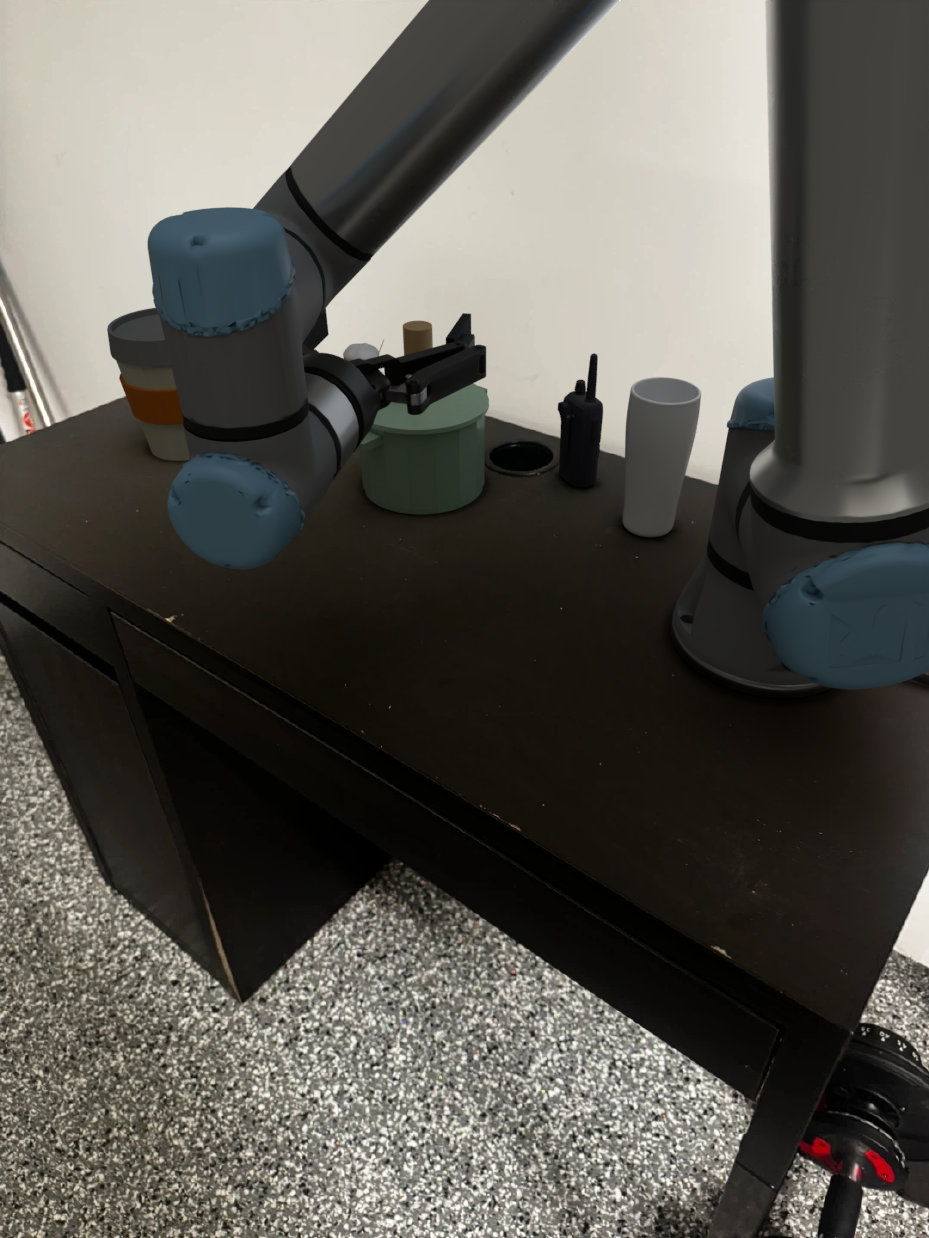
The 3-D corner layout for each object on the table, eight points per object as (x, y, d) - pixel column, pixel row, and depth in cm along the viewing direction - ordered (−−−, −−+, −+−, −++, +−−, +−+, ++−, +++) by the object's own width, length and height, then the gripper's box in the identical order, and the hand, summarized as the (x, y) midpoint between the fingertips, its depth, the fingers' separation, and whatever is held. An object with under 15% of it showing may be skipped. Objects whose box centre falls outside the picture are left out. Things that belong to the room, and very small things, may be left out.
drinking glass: (686, 543, 90) (709, 404, 81) (619, 544, 90) (635, 404, 81) (673, 510, 96) (694, 376, 87) (610, 510, 96) (624, 376, 87)
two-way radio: (602, 487, 100) (614, 356, 91) (567, 495, 98) (576, 363, 89) (577, 466, 104) (586, 340, 95) (543, 474, 102) (550, 346, 93)
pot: (523, 474, 102) (526, 396, 97) (406, 538, 91) (401, 454, 86) (438, 440, 110) (436, 365, 104) (320, 495, 99) (311, 415, 93)
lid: (517, 408, 96) (519, 323, 90) (421, 454, 87) (417, 362, 81) (420, 374, 104) (417, 294, 98) (323, 413, 95) (314, 327, 89)
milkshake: (383, 422, 114) (378, 346, 108) (344, 419, 115) (336, 343, 109) (393, 408, 118) (388, 333, 112) (354, 405, 118) (348, 331, 112)
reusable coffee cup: (154, 422, 115) (127, 305, 106) (250, 423, 114) (231, 305, 105) (120, 467, 105) (86, 341, 96) (225, 468, 104) (201, 342, 95)
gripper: (165, 453, 68) (271, 355, 85) (481, 482, 64) (528, 373, 80) (142, 358, 64) (259, 275, 81) (480, 382, 59) (531, 289, 76)
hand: (394, 324), depth 81 cm, fingers open, 13 cm apart
